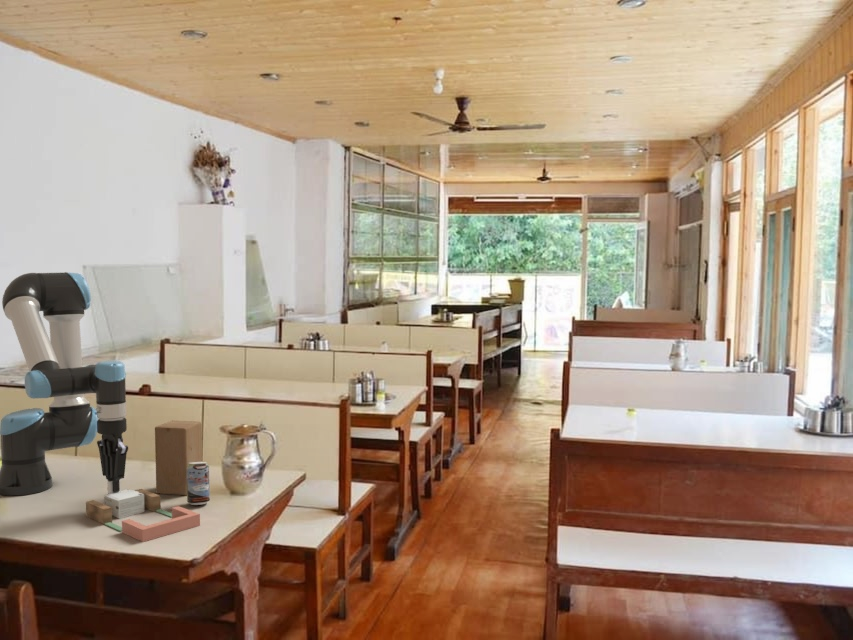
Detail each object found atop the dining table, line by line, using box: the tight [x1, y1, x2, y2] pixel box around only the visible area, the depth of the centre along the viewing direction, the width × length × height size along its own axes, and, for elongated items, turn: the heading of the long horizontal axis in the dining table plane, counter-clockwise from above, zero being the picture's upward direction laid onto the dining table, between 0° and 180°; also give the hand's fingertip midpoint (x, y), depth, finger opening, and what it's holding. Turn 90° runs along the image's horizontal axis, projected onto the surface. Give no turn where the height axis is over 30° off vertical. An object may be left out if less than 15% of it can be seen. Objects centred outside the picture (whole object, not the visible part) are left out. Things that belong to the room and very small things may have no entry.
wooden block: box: [154, 419, 203, 496], centre depth 235 cm, size 10×10×20 cm
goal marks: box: [105, 508, 172, 533], centre depth 208 cm, size 8×16×1 cm, turn 139°
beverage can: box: [186, 461, 211, 506], centre depth 222 cm, size 6×7×12 cm
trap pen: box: [121, 506, 201, 543], centre depth 201 cm, size 10×16×3 cm, turn 139°
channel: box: [85, 488, 162, 526], centre depth 214 cm, size 10×16×4 cm, turn 139°
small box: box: [103, 488, 145, 520], centre depth 214 cm, size 8×8×5 cm
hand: (114, 502), depth 217 cm, fingers closed
